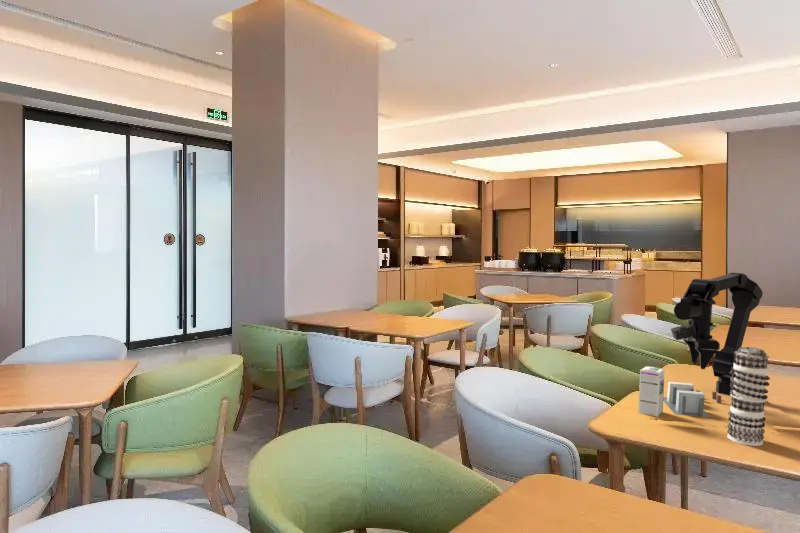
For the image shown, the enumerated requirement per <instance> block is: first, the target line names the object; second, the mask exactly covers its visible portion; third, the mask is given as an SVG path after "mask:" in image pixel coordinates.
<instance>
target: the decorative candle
mask: <svg viewBox="0 0 800 533" xmlns="http://www.w3.org/2000/svg"><path fill="white" fill-rule="evenodd" d="M734 353H735V362H734V366H733V367H732V368H731V369H732V370H731V371H730V374H731V375H732V376H733V377H731V378H730V381H731V382H732V383H730V387H731V388H732V390H731V391H730V395H729V396H730V397H731V405H730V409H729V411H728V413H727V414H728V415H729V417H728V418H727V420H728V421H729V422H728V423H727V426H726V427H727V432H726V433H728V434H727V436H726V437H727V439H728V440H730V441H732V442H734V443H737V444H740V445H744V446H751V447H759V446H762V445H764V439H765V436H764V435H765V431H766V430H765V429H764V427H765V426H766V423H765V422H766V419H767V418H766V417H765V409H764V408H765V402H767V400H768V398H769V397H768V395H766V394H768V393H769V390H768V389H766V387H769V386H770V383H769V382H768V381H770V379H771V377H769V376H768V375H767V374H768V372H769V371H768V370H769V369H768V363H769V362H768V361H769V360H768V359H769V358H770V356H769V355H768V354H767V352H766V351H765V350H763V349H762V348H757V347H753V346H751V347H750V346H741V348H739V349H738V351H736V352H734ZM733 372H734V373H733ZM733 379H734V380H733Z"/></svg>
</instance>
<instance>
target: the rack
mask: <svg viewBox="0 0 800 533" xmlns="http://www.w3.org/2000/svg"><path fill="white" fill-rule="evenodd" d="M676 391H677V387H676V386H672V398H671V402H669V401H668V400H667V396H663V403H664V404H665V405H666V406H667V407H668V408H669V409H670V410H671V411H672V413H673V414H674V415H677V416H678V415H679V416H690V417H701V418H702V417H703V418H711V415H710V414H708V412H707V411H706V410H705V409H704V405H705V396H704V397H699V409H698V413H687V412H685V407H686V396H685V395H681V409H680V412H678V411H677V410H676V397H677V394H676ZM689 391H694V392H695V388H694V389H693V388H690V387H689Z"/></svg>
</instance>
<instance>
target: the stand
mask: <svg viewBox="0 0 800 533" xmlns="http://www.w3.org/2000/svg"><path fill="white" fill-rule="evenodd" d="M695 392H701V390H697V389H696V391H695ZM711 399H712V400H716V402H715V403H717V404H721V403H722V396H721V395H718V393H717V392H716V391H712V392H711Z"/></svg>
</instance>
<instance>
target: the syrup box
mask: <svg viewBox="0 0 800 533" xmlns="http://www.w3.org/2000/svg"><path fill="white" fill-rule="evenodd" d="M638 385H639V388H638V393H639V394H638V409H637V410H638V413H640V414H644V415H647V416H652V417H657V418H653V419H654V420H653V421H659V416H661V415H662V414H663V411H664V401H663V397H664V391H665V388H664V387H665V369H664V368H660V367H656V366H644V367H643V368H641V369H640V370H639V384H638ZM649 420H652V418H650V417H649Z"/></svg>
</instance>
